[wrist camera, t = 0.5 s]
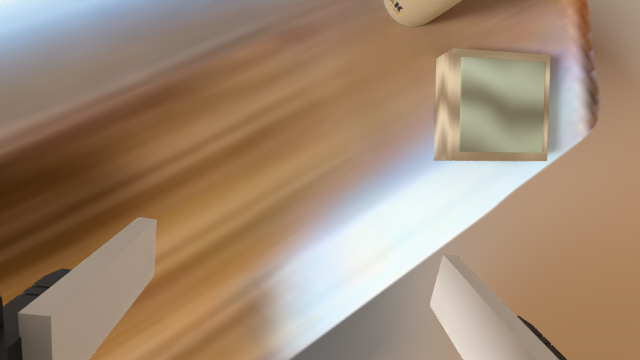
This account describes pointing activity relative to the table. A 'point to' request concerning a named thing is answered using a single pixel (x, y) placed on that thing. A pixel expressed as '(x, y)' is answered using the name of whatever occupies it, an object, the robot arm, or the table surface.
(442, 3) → the coffee cup
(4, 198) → the table surface
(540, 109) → the birch riser
